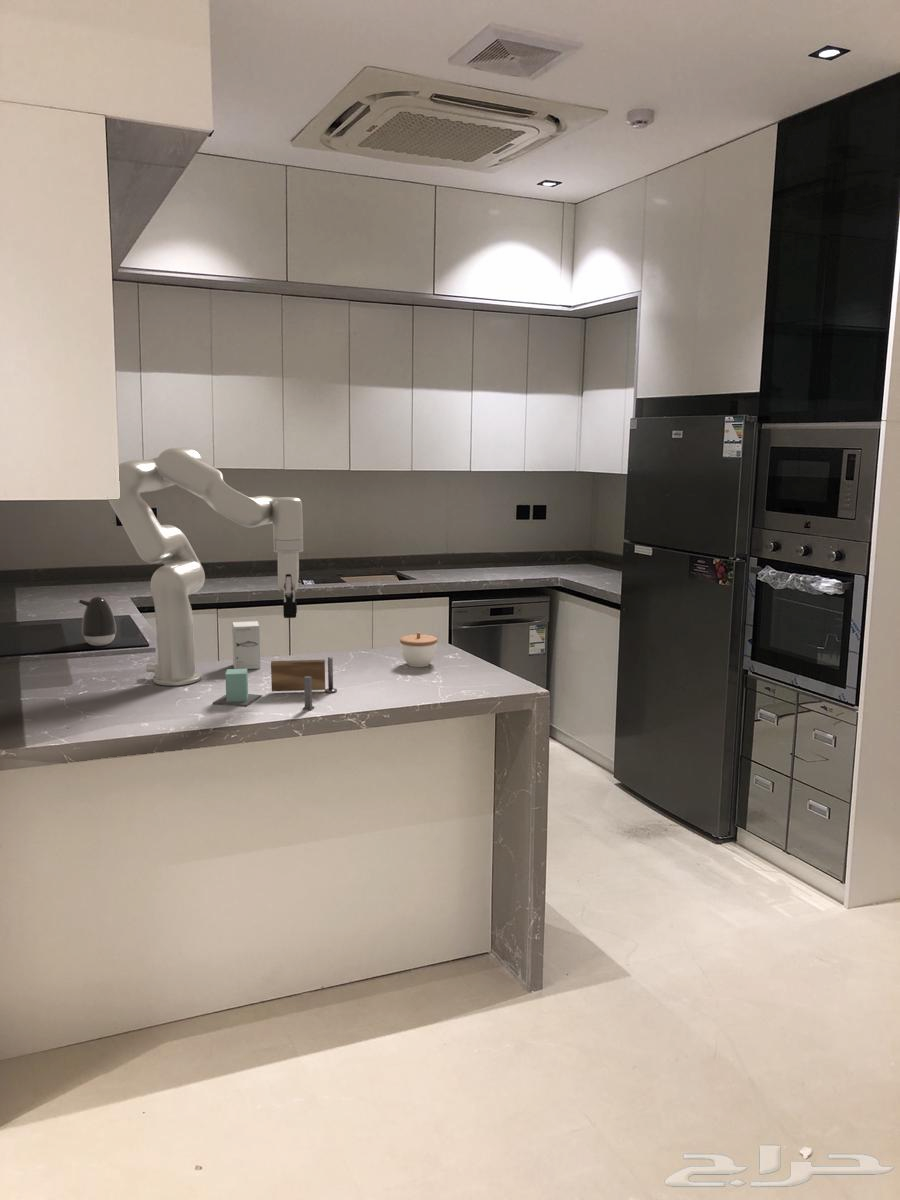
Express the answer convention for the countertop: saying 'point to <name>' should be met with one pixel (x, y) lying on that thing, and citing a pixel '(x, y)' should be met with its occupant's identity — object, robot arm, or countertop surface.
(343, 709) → the countertop surface
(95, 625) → the pump dispenser
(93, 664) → the countertop surface
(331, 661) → the gate post
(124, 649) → the countertop surface
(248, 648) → the supplement box
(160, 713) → the countertop surface
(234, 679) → the block
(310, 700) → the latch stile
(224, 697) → the mat
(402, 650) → the lidded jar
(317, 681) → the gate
